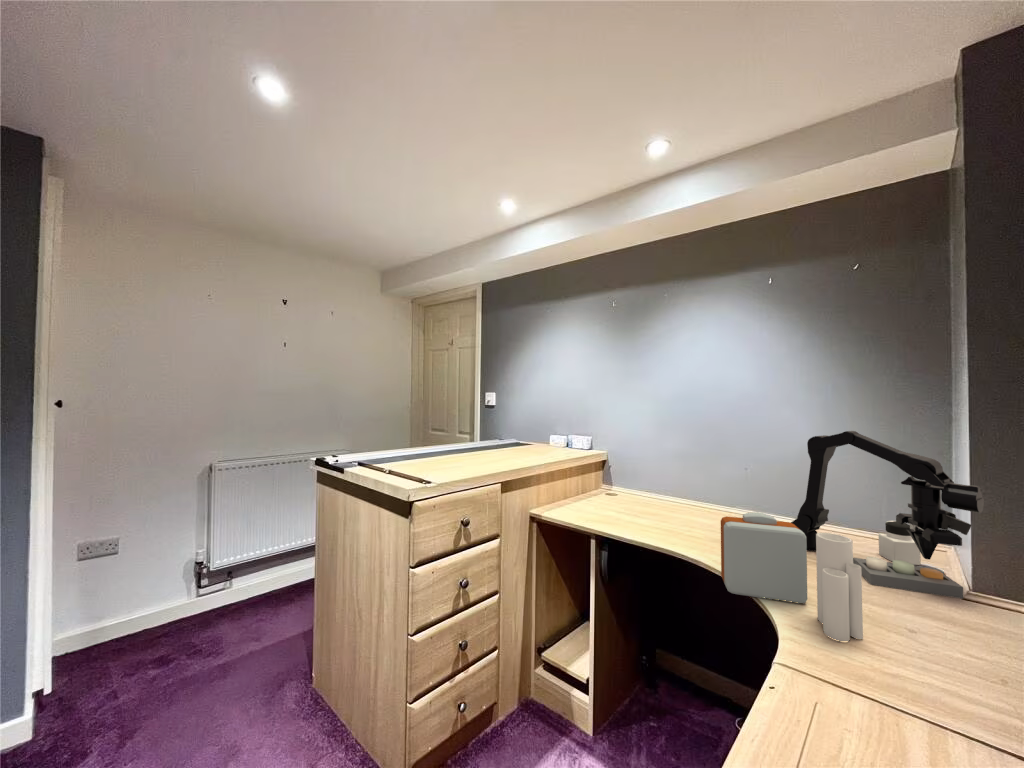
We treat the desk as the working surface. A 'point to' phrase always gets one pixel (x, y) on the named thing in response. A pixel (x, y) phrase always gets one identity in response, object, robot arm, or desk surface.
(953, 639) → the desk surface
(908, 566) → the button sage
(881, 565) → the button ivory
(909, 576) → the grey compartment tray
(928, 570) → the button orange
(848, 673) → the desk surface
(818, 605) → the vase
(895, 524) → the medicine bottle
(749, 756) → the desk surface
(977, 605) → the desk surface
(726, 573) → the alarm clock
